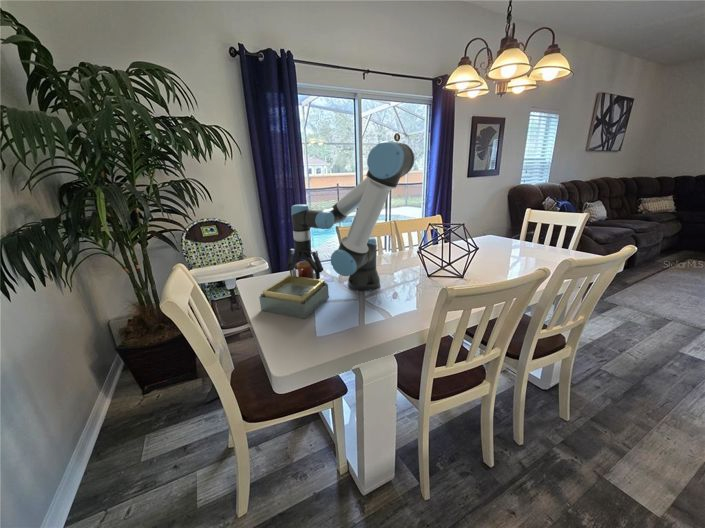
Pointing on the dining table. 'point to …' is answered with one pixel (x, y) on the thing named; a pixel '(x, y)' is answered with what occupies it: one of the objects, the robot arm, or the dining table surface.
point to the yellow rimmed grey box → (294, 296)
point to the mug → (305, 270)
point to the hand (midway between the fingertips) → (305, 283)
